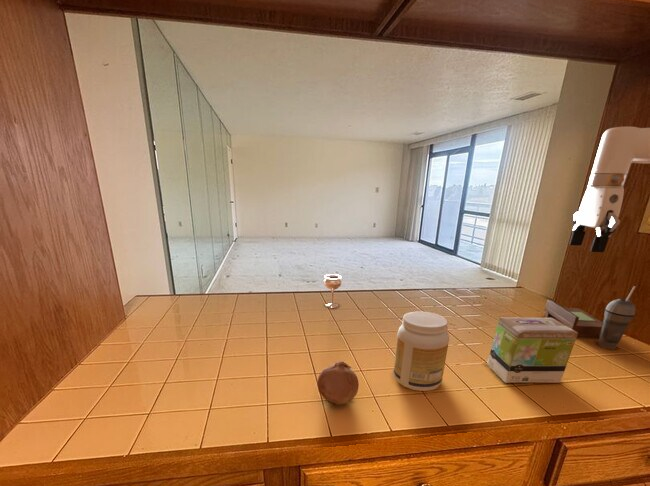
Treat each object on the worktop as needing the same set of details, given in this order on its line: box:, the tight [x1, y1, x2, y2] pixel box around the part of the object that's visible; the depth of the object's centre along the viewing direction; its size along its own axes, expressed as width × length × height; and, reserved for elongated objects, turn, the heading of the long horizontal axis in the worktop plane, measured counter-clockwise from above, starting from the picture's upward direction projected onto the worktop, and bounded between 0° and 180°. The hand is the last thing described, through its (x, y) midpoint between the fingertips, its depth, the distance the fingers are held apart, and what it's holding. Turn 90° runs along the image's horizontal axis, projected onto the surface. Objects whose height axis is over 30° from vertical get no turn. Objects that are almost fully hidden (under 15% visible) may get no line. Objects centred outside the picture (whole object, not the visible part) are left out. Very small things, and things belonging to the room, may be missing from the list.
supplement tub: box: [392, 311, 450, 392], centre depth 86 cm, size 12×12×17 cm
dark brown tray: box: [543, 298, 603, 339], centre depth 122 cm, size 12×18×7 cm, turn 175°
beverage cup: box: [597, 285, 636, 350], centre depth 106 cm, size 7×7×20 cm
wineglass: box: [323, 273, 342, 309], centre depth 136 cm, size 7×7×12 cm
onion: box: [316, 361, 360, 406], centre depth 78 cm, size 10×9×10 cm
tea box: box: [486, 316, 578, 384], centre depth 90 cm, size 15×10×15 cm, turn 94°
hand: (585, 248), depth 96 cm, fingers open, 9 cm apart
